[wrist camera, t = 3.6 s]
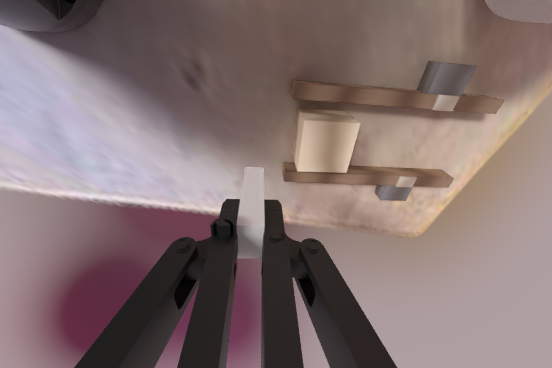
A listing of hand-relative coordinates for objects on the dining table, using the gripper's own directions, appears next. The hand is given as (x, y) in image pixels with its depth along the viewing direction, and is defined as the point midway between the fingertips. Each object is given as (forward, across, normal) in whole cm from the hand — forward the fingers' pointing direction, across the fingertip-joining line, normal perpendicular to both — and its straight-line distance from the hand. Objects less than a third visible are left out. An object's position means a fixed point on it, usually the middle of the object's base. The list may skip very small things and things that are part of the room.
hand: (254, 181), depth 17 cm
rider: (+12, +8, 0) cm, 14 cm away
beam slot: (+12, +16, 0) cm, 20 cm away
